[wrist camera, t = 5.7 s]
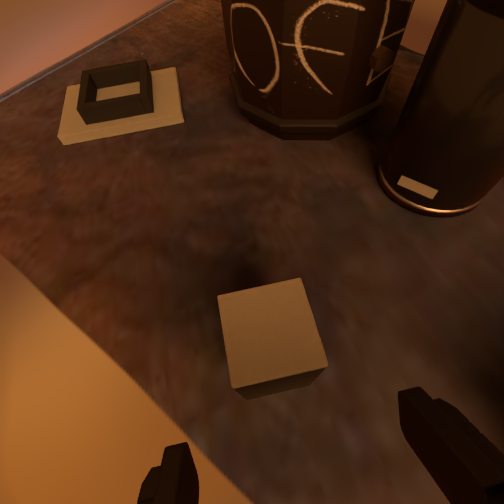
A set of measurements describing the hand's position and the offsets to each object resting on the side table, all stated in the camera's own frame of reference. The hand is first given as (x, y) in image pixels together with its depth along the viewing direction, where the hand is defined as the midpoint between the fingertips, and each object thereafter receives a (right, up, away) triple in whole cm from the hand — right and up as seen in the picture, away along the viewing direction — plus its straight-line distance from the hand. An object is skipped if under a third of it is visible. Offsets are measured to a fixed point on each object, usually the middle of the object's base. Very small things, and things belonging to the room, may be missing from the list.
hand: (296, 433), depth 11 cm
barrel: (+5, +25, +25) cm, 35 cm away
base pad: (-17, +25, +26) cm, 40 cm away
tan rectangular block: (0, -1, +10) cm, 10 cm away
